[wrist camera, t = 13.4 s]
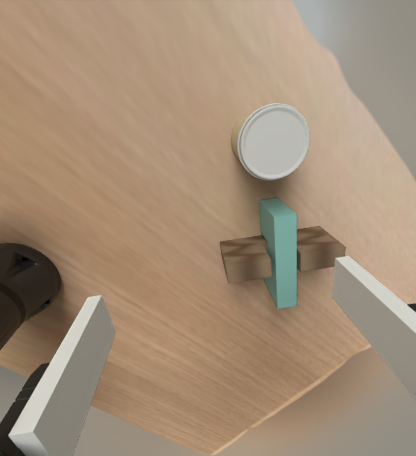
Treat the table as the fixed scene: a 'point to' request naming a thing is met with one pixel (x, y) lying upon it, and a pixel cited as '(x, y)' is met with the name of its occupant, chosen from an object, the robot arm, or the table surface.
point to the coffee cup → (271, 141)
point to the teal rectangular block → (280, 250)
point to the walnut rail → (261, 262)
